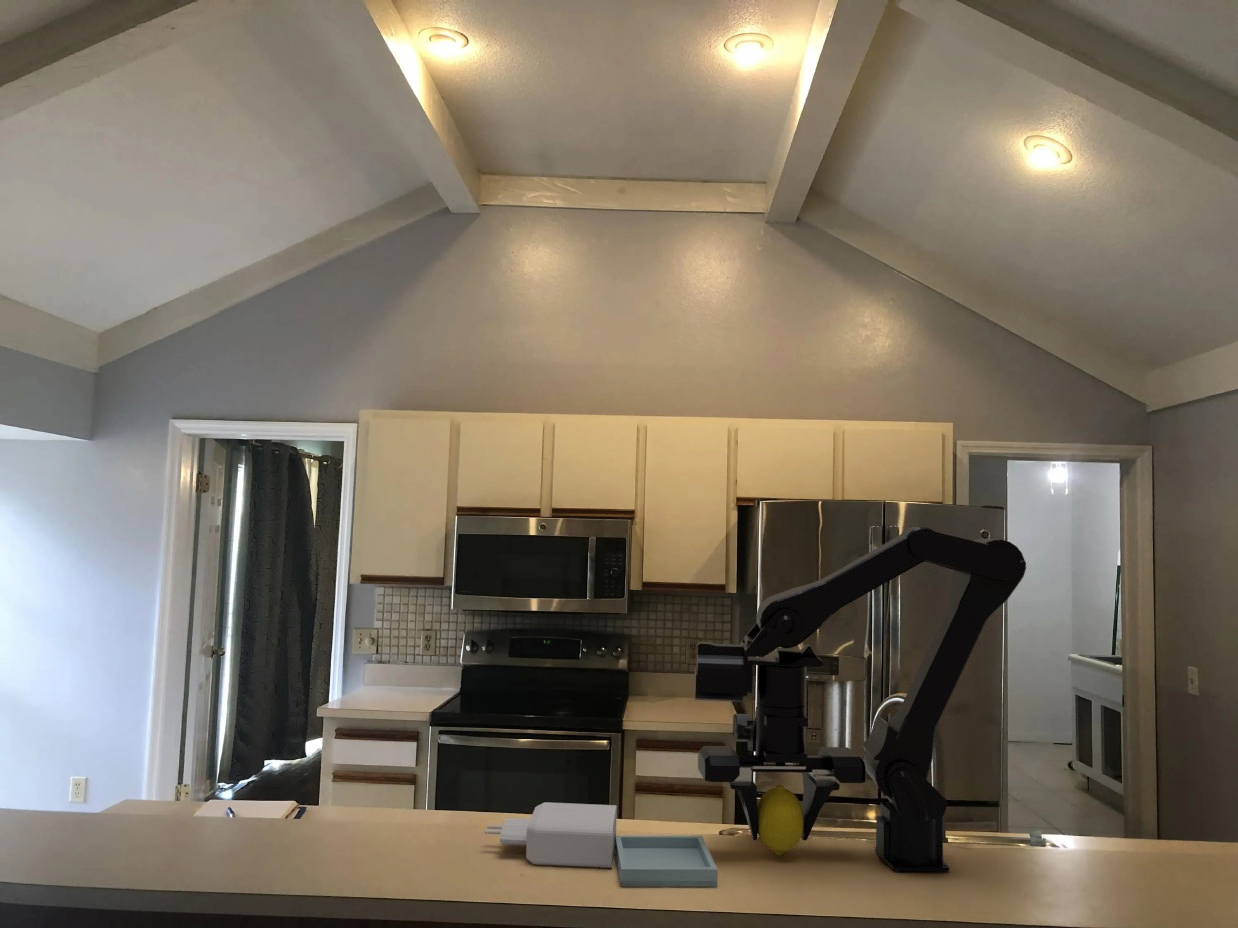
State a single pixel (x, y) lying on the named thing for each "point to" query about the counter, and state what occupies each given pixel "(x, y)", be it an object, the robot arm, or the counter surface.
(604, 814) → the charger
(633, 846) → the tray
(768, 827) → the lemon
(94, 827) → the counter surface
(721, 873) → the counter surface
